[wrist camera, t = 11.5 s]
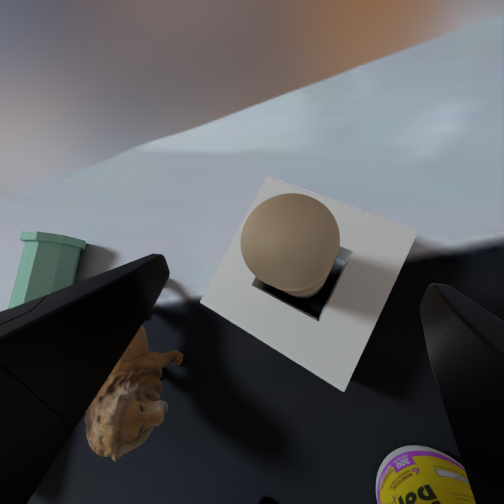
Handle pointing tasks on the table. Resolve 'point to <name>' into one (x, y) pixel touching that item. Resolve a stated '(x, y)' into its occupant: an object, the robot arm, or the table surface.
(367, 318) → the socket
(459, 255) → the table surface
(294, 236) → the peg
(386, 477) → the supplement bottle
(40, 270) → the container
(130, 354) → the lion figurine
